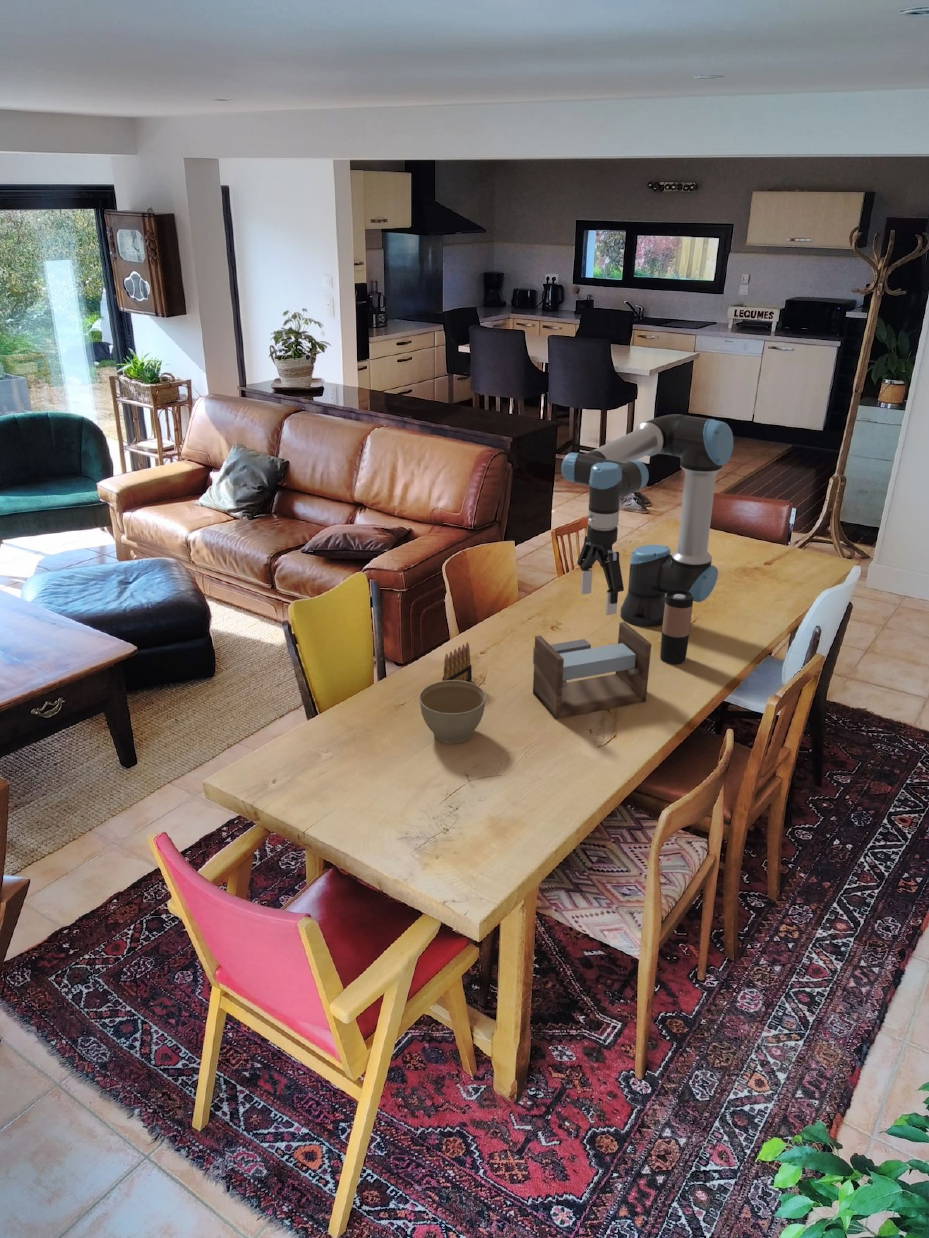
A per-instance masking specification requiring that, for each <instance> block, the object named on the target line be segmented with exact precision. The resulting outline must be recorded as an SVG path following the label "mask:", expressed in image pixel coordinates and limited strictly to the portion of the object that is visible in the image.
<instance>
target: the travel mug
mask: <svg viewBox="0 0 929 1238" xmlns="http://www.w3.org/2000/svg"><path fill="white" fill-rule="evenodd" d="M693 598H694V597H692V594H691V593H690V592H687V591H684V590H671V591H668V592H667V593H666V600H665V609H664V618H663V625H661V626H662V627H661V628H662V629H661V641H660V652H659V653H660V656H659V657H660V660H661V661H662V662H664V663H666V664H669V665H681V664H684V663H685V662H686V658H687V653H688V647H689V639H690V632H691V623H692V614H693V613H692V612H693V605H694V601H693Z"/></svg>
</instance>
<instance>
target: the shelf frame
mask: <svg viewBox="0 0 929 1238" xmlns="http://www.w3.org/2000/svg"><path fill="white" fill-rule="evenodd" d="M617 639H618V640H617V644H620V643H623V644H624V645H625V646H627V647H628V648H629V649H630V650H631V651H632V652H633V653H635V654H636V658H635V668H632V669H627V670H621V671H616V672H614V674H613V673H612V674H607V675H601V676H596V677H595V676H594V677H590V678H589V677H588V678H585V679H584V678H583V679H579V680H575V681H568V680H565V681H563V665H564V658H563V657H562V656H561V655H560V654H559V653H558V652H557V651H556V650H555V649H554V648H553V647H552V646H551V645H552V644H550V643H549V642H547V640H546V639H545V638H544V637H543V636H542V635H535V636H534V647H535V652H534V664H533V681H532V683H533V684H532V694H533V695H534V696H535V698H536V699H537V700H538V701H539V703H541V705H542V706H543V707H544V708H545V710H546V711H548V712H549V714H550V715H551V716H552V717H553V718H554V720H558V719H563V718H568V717H574V716H577V715H578V716H579V715H583V714H589V713H595V712H599V711H605V710H609V709H615V708H620V707H624V706H630V705H635V704H640V703H641V704H642V703H646V702H647V695H648V692H647V691H648V682H649V672H650V662H651V652H652V643H651V642H650V641H649V640H647V638H645V637H644V636H643V635H641V634H640V633H639V632H638V631H636V630H635V629H634V628H632V627H631V626H630V625H629V623H628V622H626V621H621V622H619V627H618V638H617ZM567 681H568V682H567Z"/></svg>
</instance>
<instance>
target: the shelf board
mask: <svg viewBox="0 0 929 1238" xmlns="http://www.w3.org/2000/svg"><path fill="white" fill-rule="evenodd" d="M560 655H561V656H562V657H563V658H564V665H563V681H565V680H566V681H571V680H577V679H581V678H589V677H592V676H593V677H595V676H598V675H603V674H608V673H616V671H621V670H627V669H632V668H635V658H636V654H635V653H633V652H632V651H631V650H630V649H629V648H628V647H627V646H625V645H624V644H623V643H620V644H618V643H615V644H608V645H604V646H598V647H591V649H585V650H579V651H573V652H567V653H561V654H560Z"/></svg>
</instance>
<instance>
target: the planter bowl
mask: <svg viewBox="0 0 929 1238" xmlns="http://www.w3.org/2000/svg"><path fill="white" fill-rule="evenodd" d="M418 701H419V704H420V712H421V715H422V717H423V720H424V722H425V724H426V726H427V727H428V729H429V730H430V731H431V733H433V736H434V737H435V739H436V740H438V741H439V742H441V743H444V744H449V745H452V744H453V745H457V744H461V743H464V742H466V741H469V739H471V737H472V736H473V733H474V731H475V730H476V729H477V728H478V726H479V724H480V723H481V721H482V718H483V715H484V712H485V704H486V701H487V694H486V693H485V690H484V689H483V688H481V687H480V686H479V685H476V684H475V683H473V682H466V681H460V680H446V681H443V680H440V681H437V682H434V683H431V684H428V685H427V686H426V687H424V688H423V689H422V690H421V691H420V693H419V695H418Z"/></svg>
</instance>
